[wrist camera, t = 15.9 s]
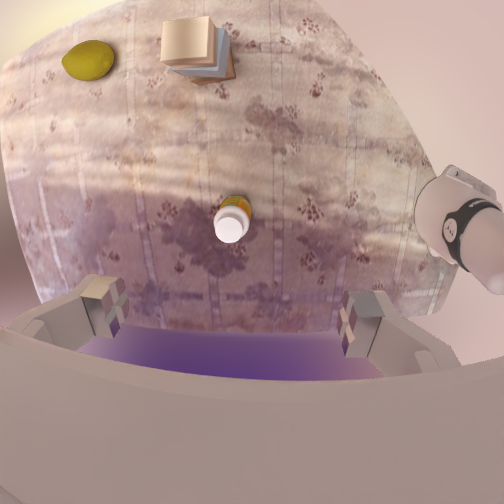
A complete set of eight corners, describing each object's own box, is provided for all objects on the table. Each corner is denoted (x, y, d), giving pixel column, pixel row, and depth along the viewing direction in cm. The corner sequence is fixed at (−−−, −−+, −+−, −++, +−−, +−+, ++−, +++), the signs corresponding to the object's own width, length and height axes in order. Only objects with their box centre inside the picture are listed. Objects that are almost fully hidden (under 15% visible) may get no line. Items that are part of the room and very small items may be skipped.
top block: (230, 40, 32) (224, 28, 27) (225, 77, 35) (217, 70, 29) (190, 39, 32) (177, 28, 27) (184, 76, 35) (170, 69, 29)
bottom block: (230, 46, 37) (224, 36, 32) (235, 78, 40) (230, 72, 34) (194, 53, 38) (184, 45, 32) (199, 85, 40) (189, 80, 35)
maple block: (218, 31, 27) (208, 16, 21) (216, 66, 29) (206, 56, 24) (179, 35, 27) (163, 21, 22) (177, 69, 29) (160, 61, 24)
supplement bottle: (242, 189, 48) (236, 205, 39) (257, 216, 50) (254, 238, 41) (215, 203, 49) (203, 222, 40) (230, 229, 51) (222, 253, 42)
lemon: (130, 50, 37) (108, 42, 30) (111, 88, 40) (87, 86, 33) (89, 39, 35) (65, 32, 28) (73, 74, 39) (47, 72, 31)
